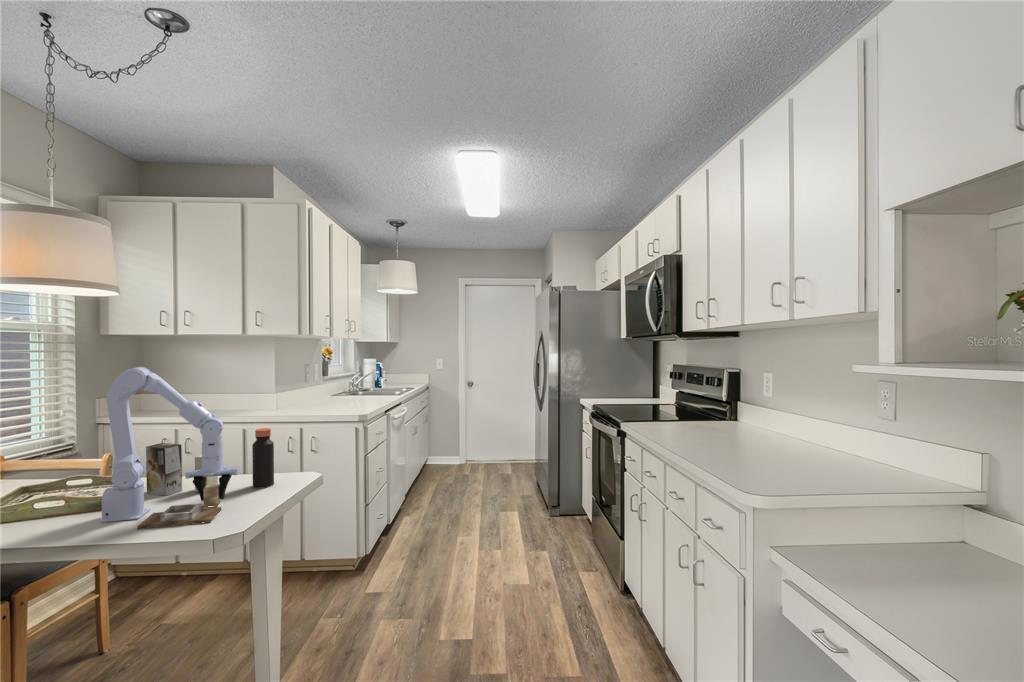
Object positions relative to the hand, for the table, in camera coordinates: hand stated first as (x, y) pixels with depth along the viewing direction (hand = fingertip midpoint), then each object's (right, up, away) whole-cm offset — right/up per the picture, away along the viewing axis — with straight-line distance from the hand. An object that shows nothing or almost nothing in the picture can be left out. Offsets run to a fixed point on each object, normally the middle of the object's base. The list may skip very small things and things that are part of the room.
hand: (212, 499), depth 157 cm
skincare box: (-12, -2, +15) cm, 19 cm away
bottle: (+6, -2, +20) cm, 21 cm away
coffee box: (-24, -2, +13) cm, 28 cm away
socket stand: (-2, -2, -12) cm, 12 cm away
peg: (0, -2, 0) cm, 2 cm away
